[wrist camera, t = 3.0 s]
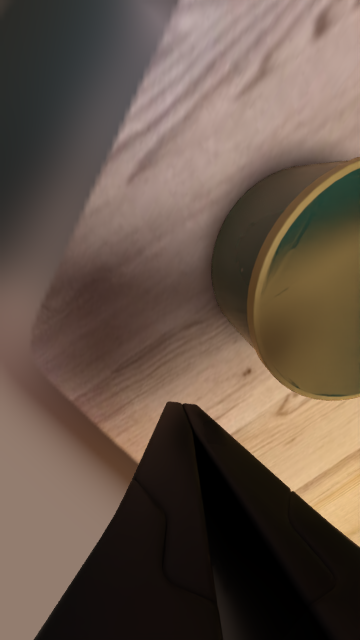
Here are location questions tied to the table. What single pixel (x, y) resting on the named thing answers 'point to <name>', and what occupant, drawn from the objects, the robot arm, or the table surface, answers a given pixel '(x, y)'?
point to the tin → (297, 276)
